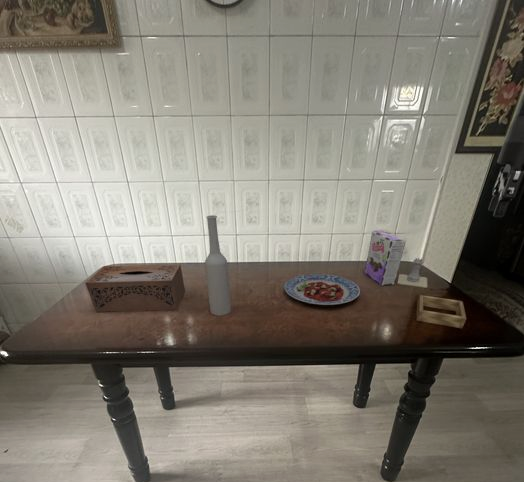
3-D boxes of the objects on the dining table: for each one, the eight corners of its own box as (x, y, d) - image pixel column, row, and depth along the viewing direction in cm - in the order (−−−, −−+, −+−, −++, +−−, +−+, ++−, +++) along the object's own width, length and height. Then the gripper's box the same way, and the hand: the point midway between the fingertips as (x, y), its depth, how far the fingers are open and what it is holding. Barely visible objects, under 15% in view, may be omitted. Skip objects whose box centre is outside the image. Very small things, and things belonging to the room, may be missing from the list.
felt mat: (426, 278, 116) (427, 277, 115) (426, 288, 108) (427, 287, 108) (399, 274, 119) (399, 273, 119) (397, 284, 112) (397, 283, 111)
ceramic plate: (370, 289, 107) (371, 281, 106) (339, 318, 91) (340, 309, 89) (307, 274, 120) (308, 267, 119) (270, 297, 103) (270, 288, 102)
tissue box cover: (96, 312, 95) (85, 282, 90) (112, 293, 107) (103, 266, 101) (177, 310, 96) (171, 280, 90) (185, 291, 108) (180, 264, 102)
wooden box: (458, 310, 94) (462, 301, 92) (462, 328, 85) (466, 318, 83) (417, 303, 98) (419, 294, 96) (416, 320, 89) (419, 310, 87)
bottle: (230, 305, 99) (223, 213, 83) (232, 314, 93) (224, 218, 77) (210, 306, 98) (199, 214, 82) (210, 316, 92) (198, 219, 76)
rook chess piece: (417, 283, 111) (423, 262, 106) (404, 280, 113) (410, 259, 108) (420, 279, 114) (426, 258, 109) (408, 277, 116) (414, 256, 111)
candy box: (363, 272, 121) (371, 230, 112) (377, 271, 122) (386, 229, 113) (380, 286, 110) (391, 240, 101) (395, 284, 111) (407, 239, 102)
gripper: (553, 139, 64) (517, 220, 73) (535, 139, 75) (506, 210, 84) (510, 140, 67) (482, 218, 76) (499, 140, 77) (475, 208, 87)
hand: (494, 214), depth 80 cm, fingers open, 8 cm apart
